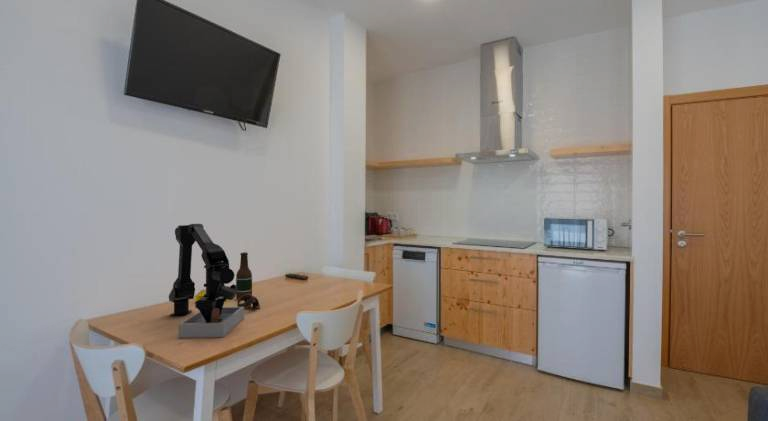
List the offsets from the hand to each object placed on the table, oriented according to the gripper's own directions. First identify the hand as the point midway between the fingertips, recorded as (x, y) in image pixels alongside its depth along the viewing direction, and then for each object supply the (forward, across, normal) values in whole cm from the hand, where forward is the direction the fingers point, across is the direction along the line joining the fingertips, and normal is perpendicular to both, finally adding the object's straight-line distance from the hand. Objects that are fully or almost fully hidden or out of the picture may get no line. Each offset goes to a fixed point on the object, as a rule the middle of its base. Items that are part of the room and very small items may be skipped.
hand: (213, 319), depth 140 cm
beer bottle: (+3, +44, +3) cm, 44 cm away
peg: (+3, 0, 0) cm, 3 cm away
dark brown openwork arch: (+3, +25, -5) cm, 26 cm away
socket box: (+3, 0, 0) cm, 3 cm away
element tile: (+4, +45, +18) cm, 48 cm away
